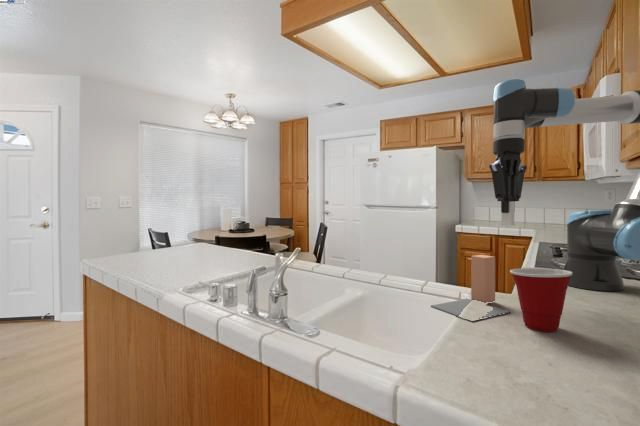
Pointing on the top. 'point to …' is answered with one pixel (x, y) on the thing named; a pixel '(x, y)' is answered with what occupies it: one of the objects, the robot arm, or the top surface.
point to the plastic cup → (541, 296)
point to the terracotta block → (483, 278)
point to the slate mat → (459, 305)
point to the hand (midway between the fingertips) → (507, 224)
